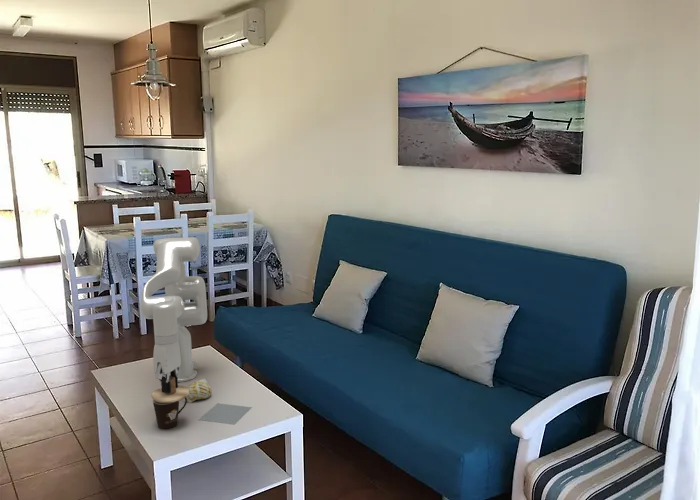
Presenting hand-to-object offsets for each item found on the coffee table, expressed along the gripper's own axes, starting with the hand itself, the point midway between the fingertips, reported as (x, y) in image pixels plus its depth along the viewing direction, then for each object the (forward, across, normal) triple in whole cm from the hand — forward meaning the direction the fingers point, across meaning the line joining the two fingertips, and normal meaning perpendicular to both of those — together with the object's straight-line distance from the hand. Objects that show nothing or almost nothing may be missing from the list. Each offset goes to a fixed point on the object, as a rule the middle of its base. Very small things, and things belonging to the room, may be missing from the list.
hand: (170, 389), depth 200 cm
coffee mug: (+13, 0, 0) cm, 13 cm away
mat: (+13, -12, +14) cm, 23 cm away
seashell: (+14, -22, -3) cm, 26 cm away
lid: (+2, 0, 0) cm, 2 cm away
